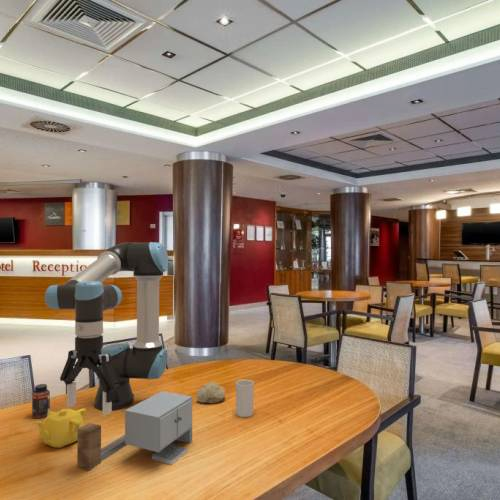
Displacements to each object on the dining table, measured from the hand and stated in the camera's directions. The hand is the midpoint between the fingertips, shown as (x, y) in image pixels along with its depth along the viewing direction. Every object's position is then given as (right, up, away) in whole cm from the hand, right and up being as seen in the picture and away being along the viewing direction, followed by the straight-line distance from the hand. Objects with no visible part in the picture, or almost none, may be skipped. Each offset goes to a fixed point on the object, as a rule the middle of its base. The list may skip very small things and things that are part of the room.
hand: (88, 409), depth 120 cm
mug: (+44, -16, +39) cm, 61 cm away
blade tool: (+4, -16, +8) cm, 18 cm away
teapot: (-14, -16, +15) cm, 26 cm away
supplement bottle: (-31, -16, +35) cm, 50 cm away
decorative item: (+31, -16, +51) cm, 62 cm away
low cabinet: (+18, -16, +10) cm, 26 cm away
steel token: (+22, -17, +6) cm, 28 cm away
